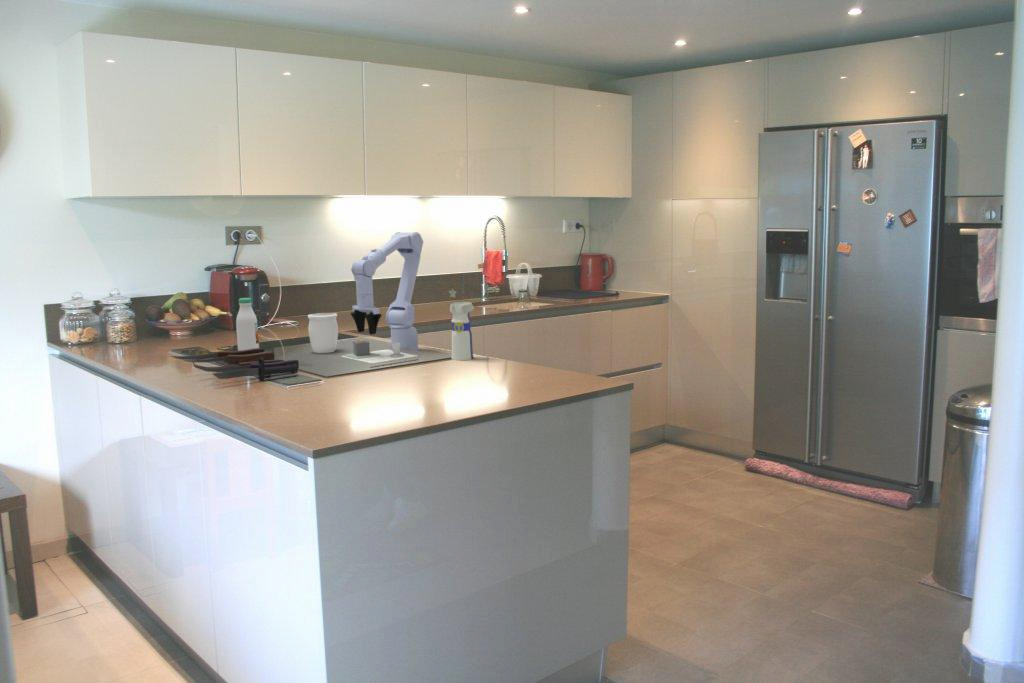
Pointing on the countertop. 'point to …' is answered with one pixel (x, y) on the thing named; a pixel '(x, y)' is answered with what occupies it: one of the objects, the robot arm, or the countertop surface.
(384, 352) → the mount board
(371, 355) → the pad
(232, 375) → the knife set
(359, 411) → the countertop surface
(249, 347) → the milk bottle
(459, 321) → the white spray bottle
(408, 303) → the robot arm
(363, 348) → the gray handled box
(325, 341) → the jar
